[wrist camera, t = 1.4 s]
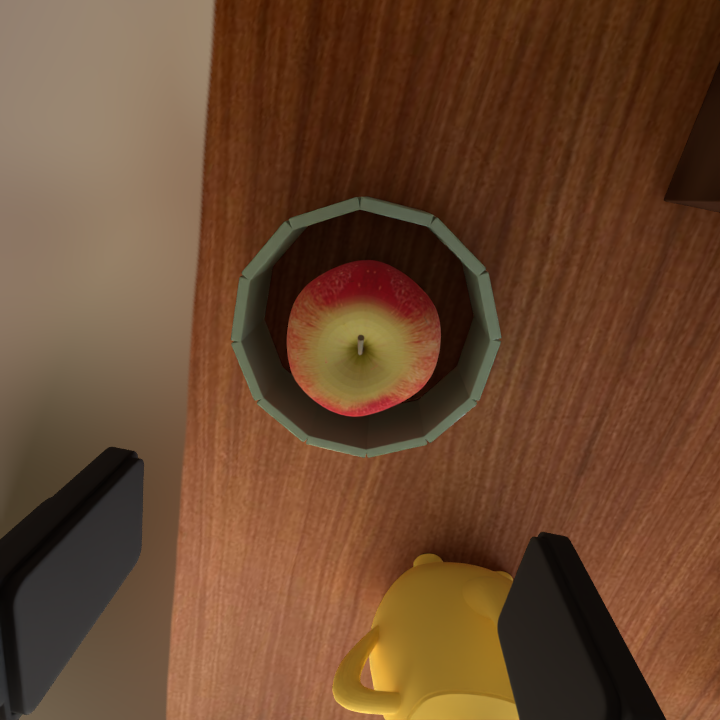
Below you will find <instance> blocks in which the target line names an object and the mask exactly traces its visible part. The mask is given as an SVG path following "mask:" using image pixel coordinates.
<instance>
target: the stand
mask: <svg viewBox="0 0 720 720" xmlns="http://www.w3.org/2000/svg"><path fill="white" fill-rule="evenodd" d="M664 201H667V202H672V203H677V204H682V205H687V206H691V207H696V208H701V209H706V210H711V211H716V212H720V63H719V65H718V68H717V70H716V73H715V75H714V78H713V80H712V82H711V85H710V87H709V90H708V92H707V95H706V97H705V100H704V102H703V105H702V107H701V110H700V112H699V114H698V117H697V119H696V122H695V124H694V127H693V129H692V132H691V134H690V137H689V139H688V141H687V144H686V146H685V149H684V151H683V154H682V156H681V159H680V161H679V164H678V166H677V169H676V171H675V173H674V176H673V178H672V181H671V183H670V186H669V188H668V191H667V193H666V196H665V198H664Z"/></svg>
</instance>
